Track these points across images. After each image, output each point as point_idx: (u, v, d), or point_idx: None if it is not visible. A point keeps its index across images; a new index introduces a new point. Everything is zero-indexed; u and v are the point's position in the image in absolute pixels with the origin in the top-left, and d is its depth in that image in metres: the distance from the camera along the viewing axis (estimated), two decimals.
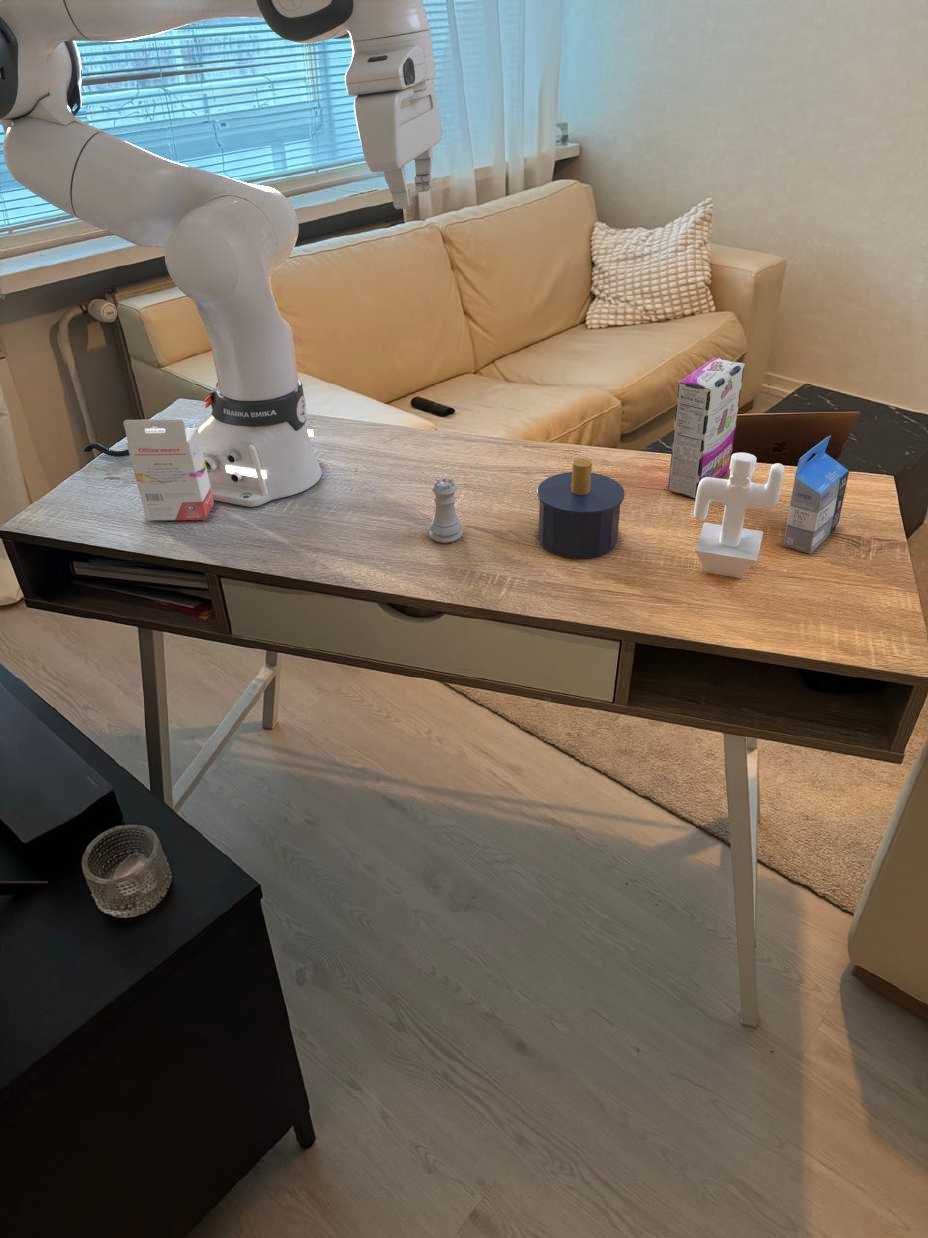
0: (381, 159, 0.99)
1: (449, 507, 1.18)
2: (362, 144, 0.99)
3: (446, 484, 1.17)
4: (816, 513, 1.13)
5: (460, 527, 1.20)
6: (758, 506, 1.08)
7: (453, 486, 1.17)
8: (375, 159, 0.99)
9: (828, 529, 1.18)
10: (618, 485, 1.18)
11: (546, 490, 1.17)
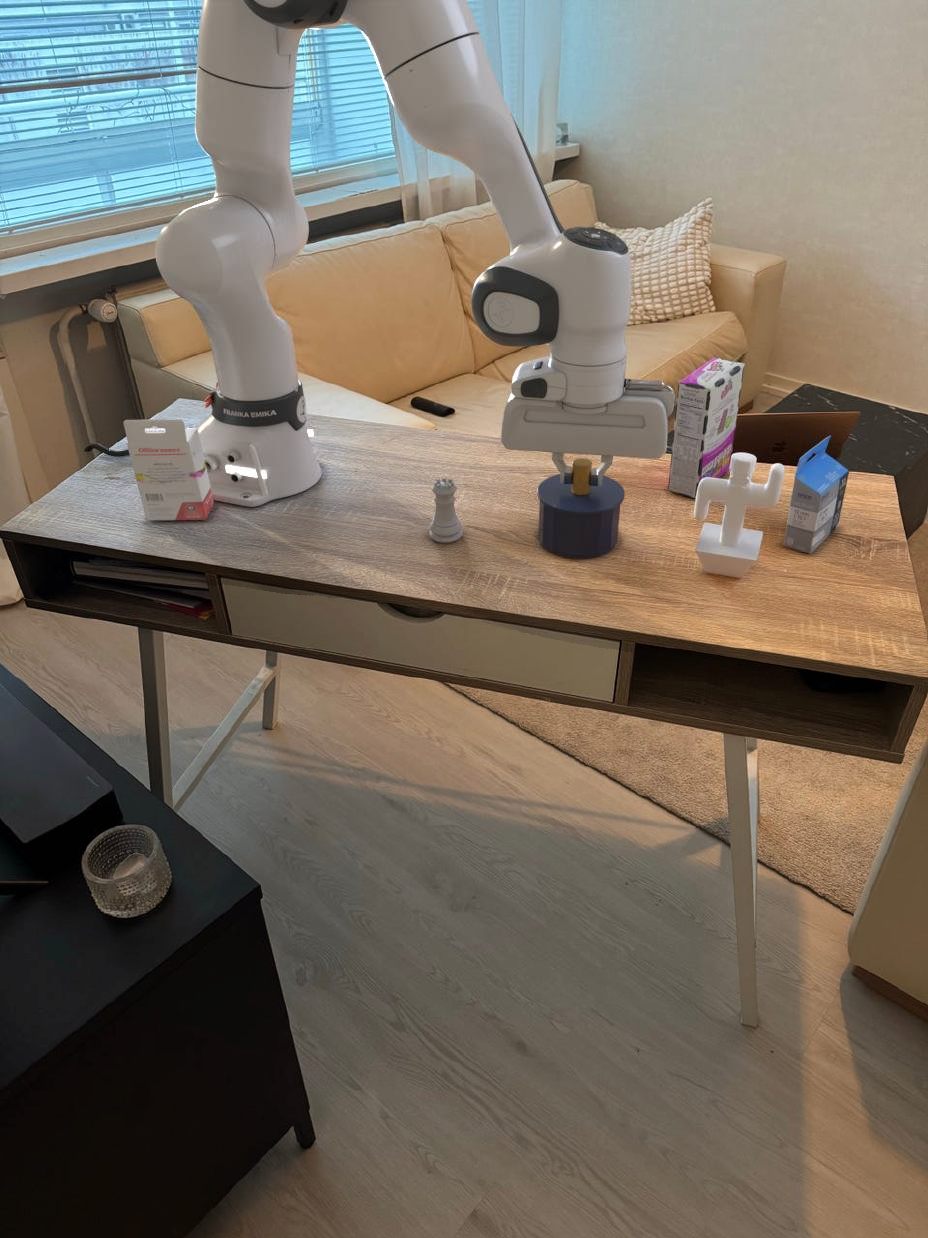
0: None
1: (449, 507, 1.18)
2: None
3: (446, 484, 1.17)
4: (817, 512, 1.13)
5: (460, 527, 1.20)
6: (758, 506, 1.08)
7: (453, 486, 1.17)
8: None
9: (828, 529, 1.18)
10: (618, 485, 1.18)
11: (546, 490, 1.17)
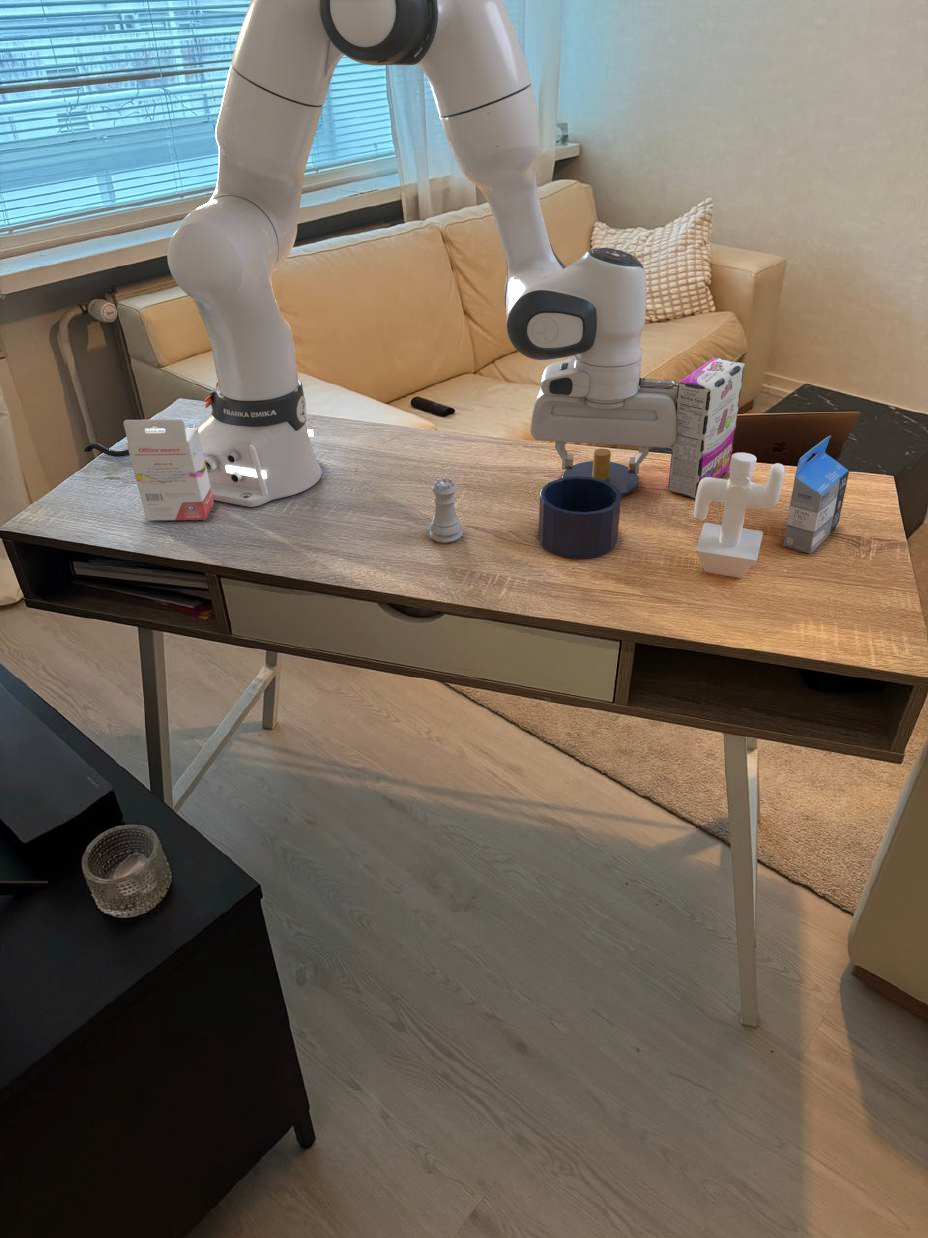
0: None
1: (449, 507, 1.18)
2: None
3: (446, 484, 1.17)
4: (817, 512, 1.13)
5: (460, 527, 1.20)
6: (758, 506, 1.08)
7: (453, 486, 1.17)
8: None
9: (828, 529, 1.18)
10: None
11: None
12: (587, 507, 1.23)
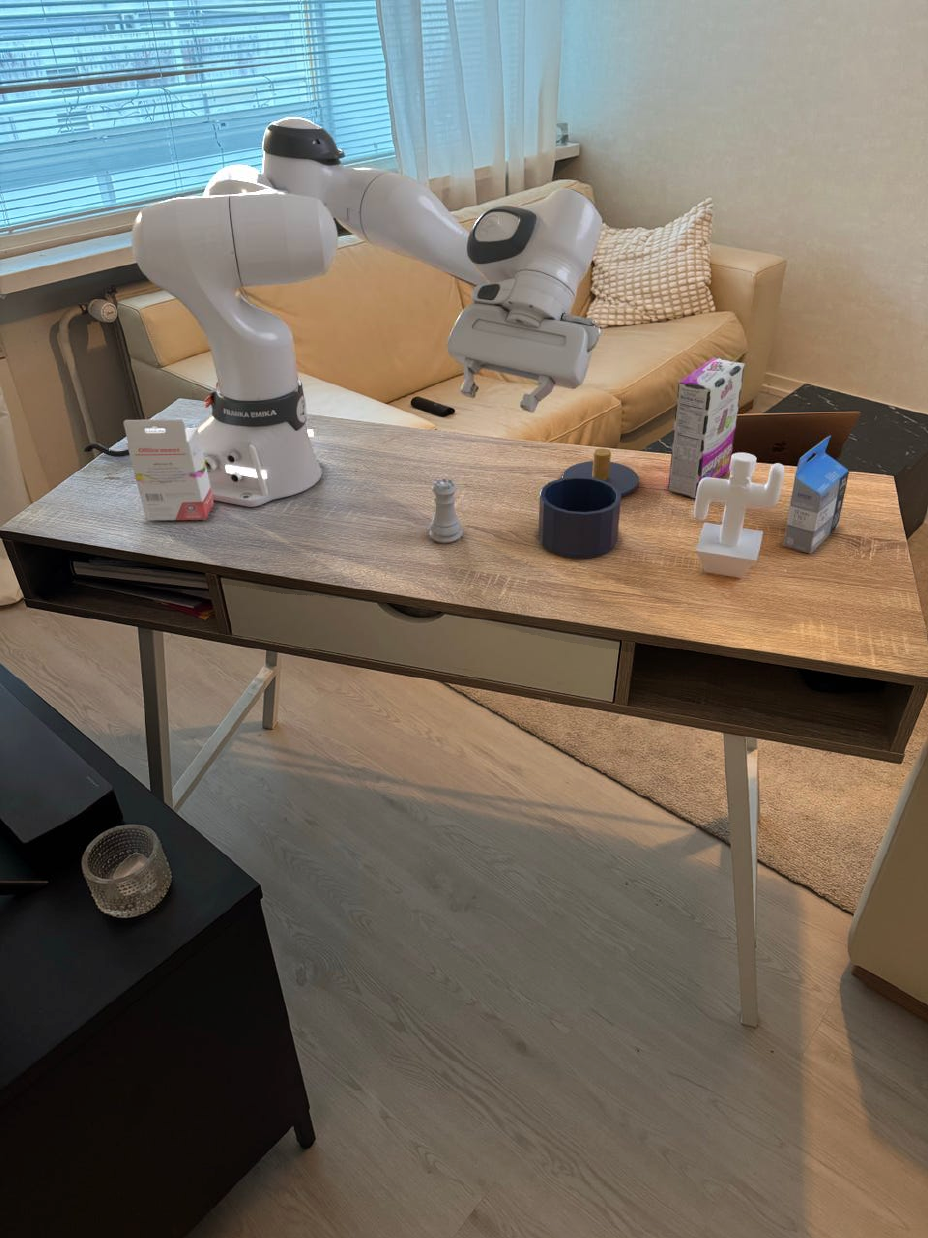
0: None
1: (449, 507, 1.18)
2: None
3: (446, 484, 1.17)
4: (816, 512, 1.13)
5: (460, 527, 1.20)
6: (758, 506, 1.08)
7: (453, 486, 1.17)
8: None
9: (828, 529, 1.18)
10: (633, 472, 1.33)
11: None
12: (587, 507, 1.23)
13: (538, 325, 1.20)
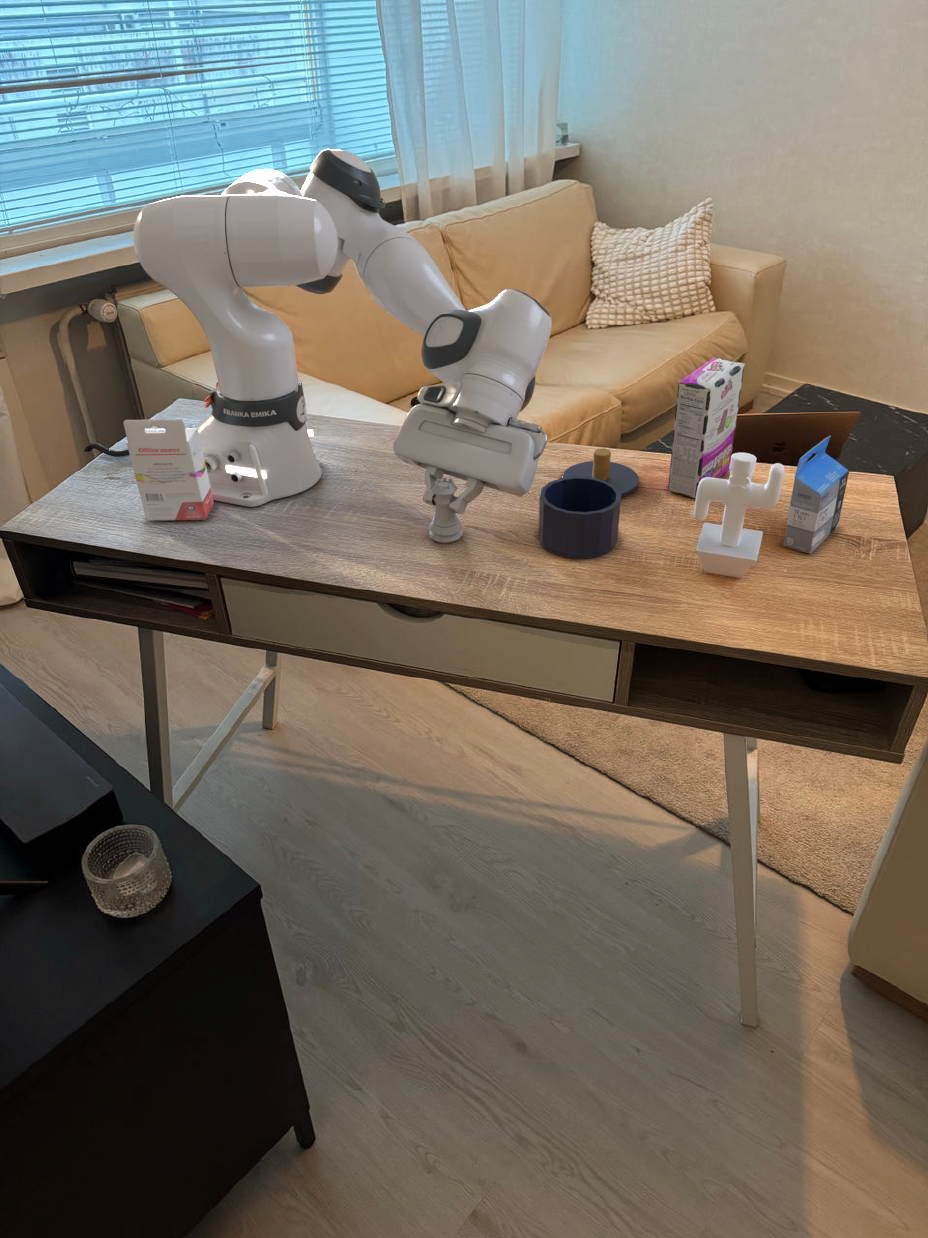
0: None
1: None
2: None
3: (446, 484, 1.17)
4: (817, 512, 1.13)
5: (460, 527, 1.20)
6: (758, 506, 1.08)
7: (453, 486, 1.17)
8: None
9: (828, 529, 1.18)
10: (633, 472, 1.33)
11: None
12: (587, 507, 1.23)
13: (484, 430, 1.17)
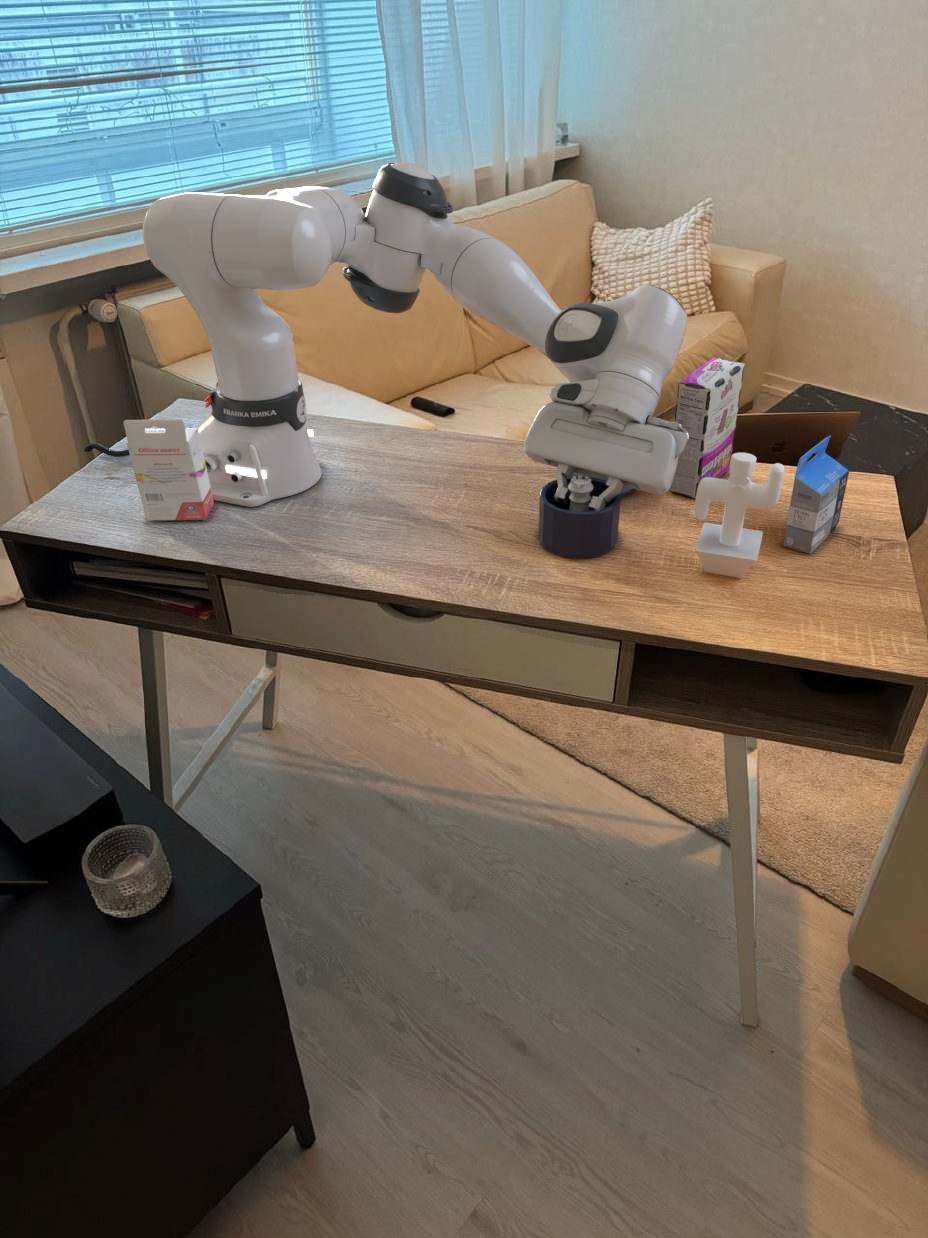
0: None
1: (585, 505, 1.17)
2: None
3: (583, 482, 1.16)
4: (817, 512, 1.13)
5: None
6: (758, 506, 1.08)
7: (590, 484, 1.16)
8: None
9: (828, 529, 1.18)
10: None
11: None
12: None
13: (622, 429, 1.15)
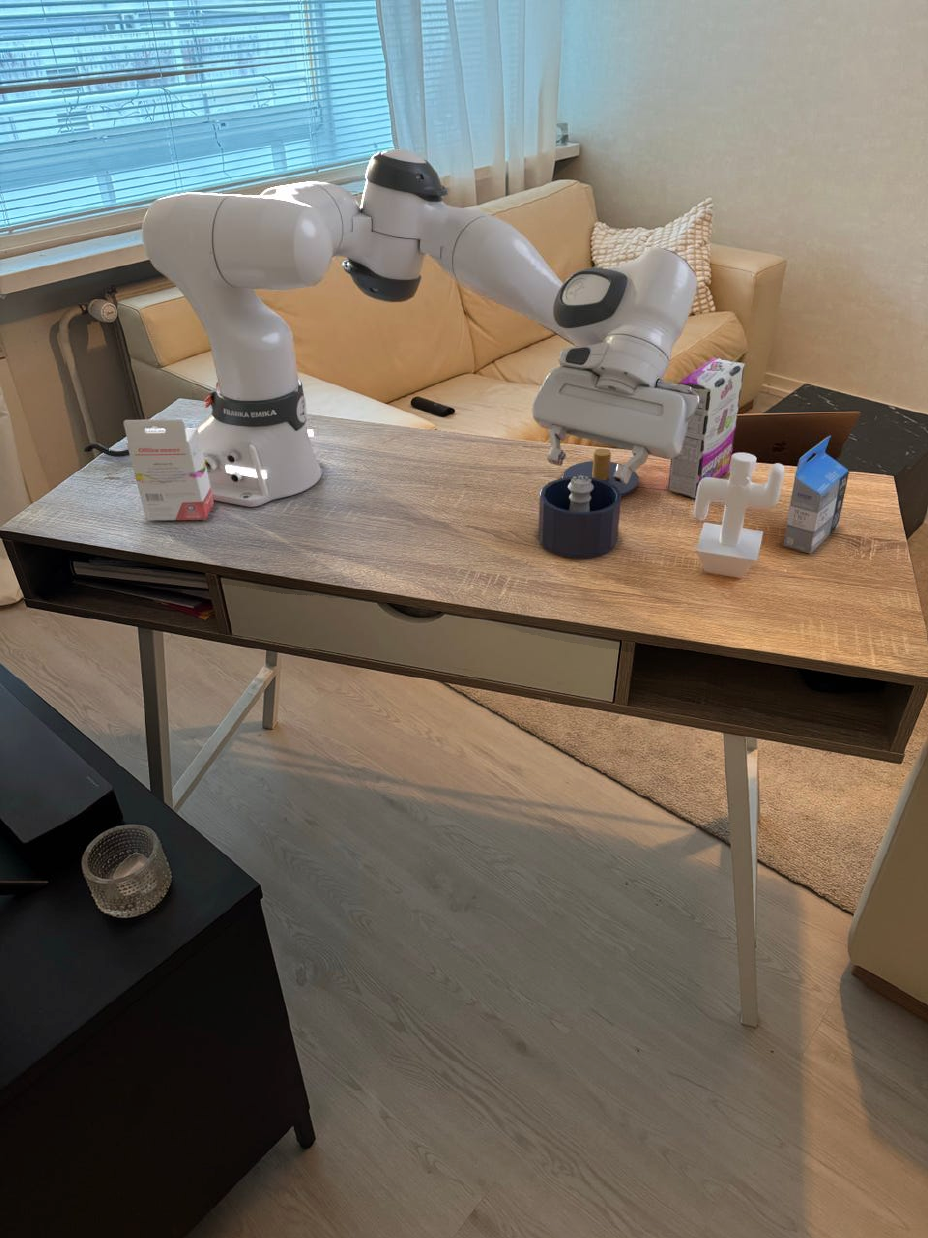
0: None
1: (585, 505, 1.17)
2: None
3: (583, 482, 1.16)
4: (816, 512, 1.13)
5: None
6: (758, 506, 1.08)
7: (590, 484, 1.16)
8: None
9: (828, 529, 1.18)
10: (633, 472, 1.33)
11: None
12: None
13: (632, 392, 1.14)
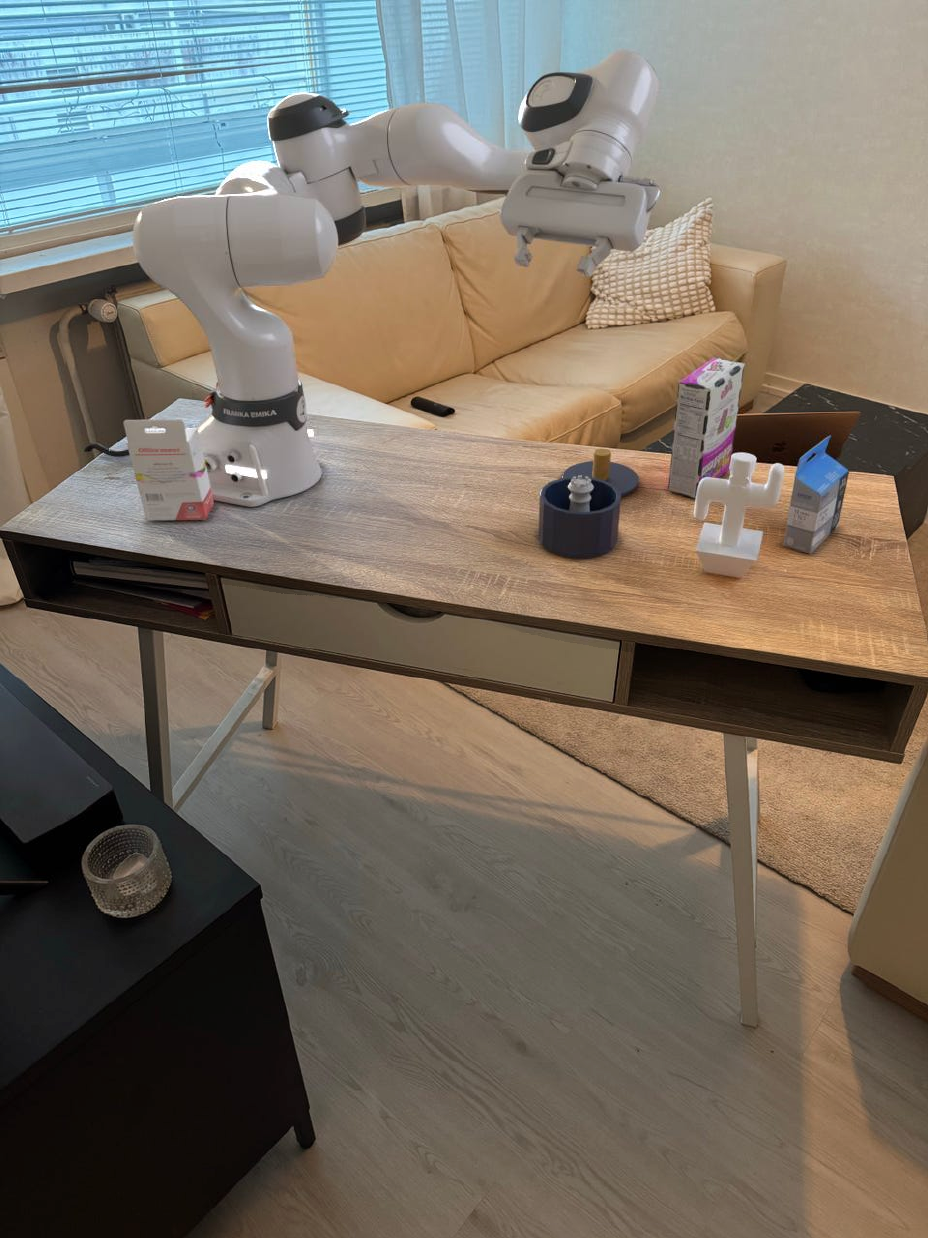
0: None
1: (585, 505, 1.17)
2: None
3: (583, 482, 1.16)
4: (816, 512, 1.13)
5: None
6: (758, 506, 1.08)
7: (590, 484, 1.16)
8: None
9: (828, 529, 1.18)
10: (633, 472, 1.33)
11: None
12: None
13: (595, 187, 1.17)
